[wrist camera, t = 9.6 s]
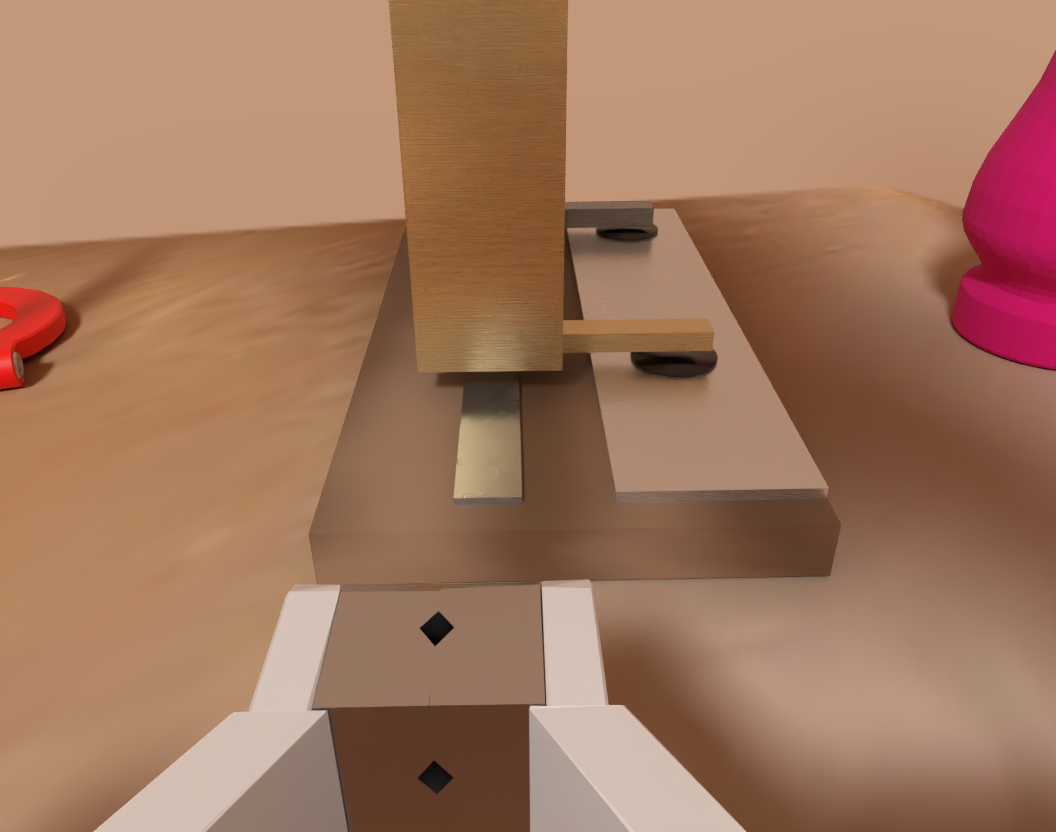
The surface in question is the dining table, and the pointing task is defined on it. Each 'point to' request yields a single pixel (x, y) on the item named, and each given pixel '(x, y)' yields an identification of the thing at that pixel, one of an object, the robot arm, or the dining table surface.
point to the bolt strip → (651, 389)
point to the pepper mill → (1015, 238)
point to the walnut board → (547, 487)
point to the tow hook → (26, 329)
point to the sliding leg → (495, 190)
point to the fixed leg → (609, 214)
